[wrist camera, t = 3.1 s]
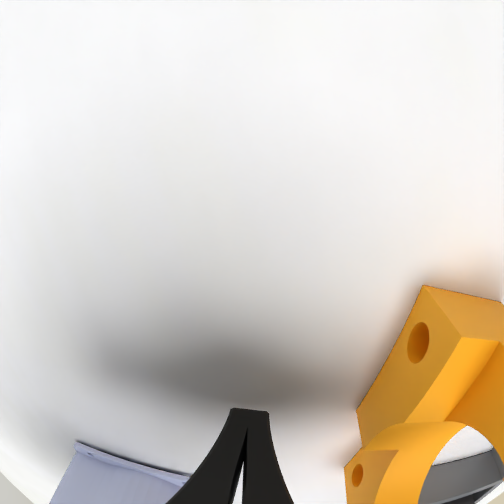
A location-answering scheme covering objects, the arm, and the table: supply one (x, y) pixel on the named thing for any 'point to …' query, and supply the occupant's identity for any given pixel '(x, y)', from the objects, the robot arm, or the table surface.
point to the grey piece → (463, 480)
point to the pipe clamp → (429, 395)
